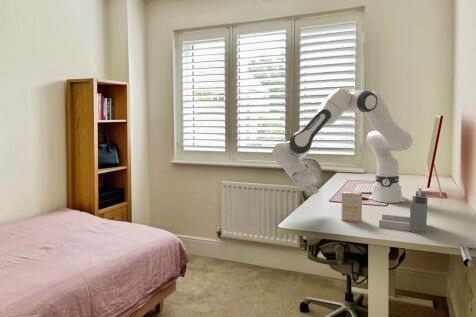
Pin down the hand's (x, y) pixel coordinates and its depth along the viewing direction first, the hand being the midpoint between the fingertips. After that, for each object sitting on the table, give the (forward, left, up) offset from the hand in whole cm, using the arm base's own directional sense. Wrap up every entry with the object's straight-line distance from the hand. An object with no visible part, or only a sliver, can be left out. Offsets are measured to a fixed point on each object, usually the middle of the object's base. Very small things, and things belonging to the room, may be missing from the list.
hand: (317, 193), depth 177 cm
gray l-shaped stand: (0, +38, -11) cm, 39 cm away
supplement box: (0, +16, -11) cm, 20 cm away
